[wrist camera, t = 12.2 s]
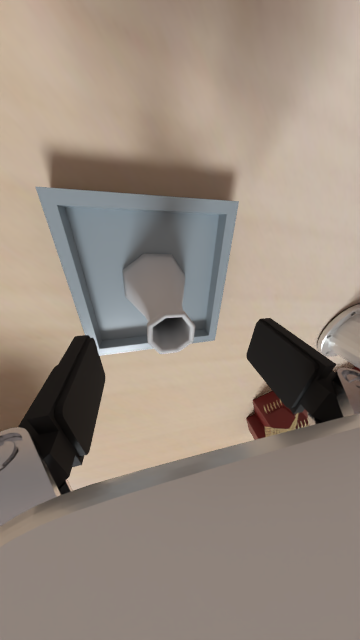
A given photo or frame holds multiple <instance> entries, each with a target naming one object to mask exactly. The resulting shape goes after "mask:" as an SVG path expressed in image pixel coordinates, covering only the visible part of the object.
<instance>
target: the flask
mask: <svg viewBox="0 0 360 640" xmlns="http://www.w3.org/2000/svg"><path fill="white" fill-rule="evenodd" d="M122 273H123V282H124V291H125V297H126V298H127V299H128V300H129V301H130V302H131V303H132V304H133V305H134V306H135V307H136V308H137V309H138V310H139V311H140V312H141V313H142V314H143V315H144V316H145V317H146V319H147V321H148V323H147V337H148V344H149V345H151V346H152V347H153V348H154V349H155V350H156V351H157V352H158V353H159V354H165V353H174V352H179V351H180V350H182V349H183V348H185V347H186V346H188V345H189V344H191V343H192V342H193V340H194V333H195V325H194V323H193V322H192V321H191V319H190V318H189V317H188V315H187V314H186V313H185V311H183V308H182V303H183V297H184V286H185V275H184V273H183V272H182V270H181V269H180V267H179V265H178V264H177V262H176V261H175V259H174V258H173V256H172V254H146V253H144V254H143V255H141V256H140V257H139V258H137V259H136V260H135V261H134V262H132V263H131V264H130V265H128V266H127V267H126V268H124V269H123V270H122Z"/></svg>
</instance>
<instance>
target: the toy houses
mask: <svg viewBox="0 0 360 640" xmlns="http://www.w3.org/2000/svg"><path fill="white" fill-rule="evenodd" d="M352 369H354V370H357V371H359V372H360V369H359V368H357V367H354V368H352ZM253 405H254V411H255V414H254V415H252V416H250V417H247V418H246V419H247V423H248V427H249V430H250V432H251V434H252V436H253V438H254V439H255V440H257V439H261V438H264V437H268V436H272V435H276V434H280V433H284V432H287V431H291V430H295V429H299V428H303V427H307V426H309V420H308V412H307V411H306V410H305V409H304V411H303V412H301V413H297V414H293V413H292V411H291V410H290V409H289V408H287V407H286V406H285V405H284V404H283V403H282V401H281V400H280V399H279V398H278V396H277V395H276V394H275V393H274V392H273V391H271V392H269V393H267V394H265V395H263V396H260V397H258V398H256V399H254V400H253Z"/></svg>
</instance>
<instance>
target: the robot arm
mask: <svg viewBox="0 0 360 640" xmlns="http://www.w3.org/2000/svg"><path fill="white" fill-rule="evenodd" d="M317 348H318V351H319V352H320V353H319V352H318V351H316V350H315V349H314V348H312V347H311V346H309V345H308V344H306V343H305V342H304V341H302V340H301V339H299V338H298V337H297V336H295V335H294V334H292V333H291V332H289V331H288V330H287V329H285V328H284V327H282V326H281V325H279V324H278V323H277V322H275V321H274V320H272V319H271V318H265V319H260V320H259V321H258V322H257V323H256V326H255V329H254V332H253V335H252V339H251V342H250V345H249V348H248V351H247V359H248V361H249V362H250V363H251V364H252V366H253V367H254V368H255V369H256V371H257V372H258V373H259V374H260V375H261V377H262V378H263V379H264V380H265V382H266V383H267V384H268V385H269V387H270V388H271V389H272V390H273V392H274V393H275V394H276V395H277V396H278V398H279V399H280V400H281V401H282V403H283V404H284V405H285V406H286V407H287V408H289V409H290V410H291V411H292V413H293V414H297V413H301V412H303V411H304V409H305V410H306V411H307V412H308V420H309V426H307V427H303V428H299V429H295V430H291V431H287V432H284V433H280V434H276V435H272V436H268V437H264V438H261V439H257V440H253V441H249V442H245V443H241V444H238V445H234V446H230V447H226V448H222V449H219V450H215V451H211V452H207V453H204V454H200V455H196V456H192V457H189V458H185V459H181V460H177V461H174V462H170V463H166V464H162V465H159V466H155V467H151V468H147V469H144V470H140V471H137V472H133V473H130V474H126V475H123V476H119V477H116V478H112V479H109V480H106V481H102V482H99V483H95V484H92V485H89V486H86V487H83V488H80V489H77V490H74V491H73V490H72V488H71V486H70V484H69V482H68V480H67V478H68V477H69V476H70V472H71V469H72V467H75V466H79V465H82V462H83V458H84V455H87V454H88V453H89V450H90V446H91V442H92V437H93V433H94V428H95V424H96V419H97V415H98V410H99V406H100V401H101V397H102V392H103V388H104V383H105V373H104V370H103V366H102V363H101V360H100V356H99V353H98V350H97V346H96V343H95V340H94V338H90V336H89V335H84V336H76V337H74V339H73V341H72V342H71V344H70V346H69V347H68V349H67V351H66V353H65V354H64V356H63V358H62V359H61V361H60V363H59V364H58V365H57V366H56V367H55V368H54V369H53V370H52V372H51V374H50V375H49V377H48V379H47V380H46V382H45V383H44V385H43V387H42V388H41V390H40V392H39V393H38V395H37V397H36V398H35V400H34V402H33V403H32V405H31V407H30V408H29V410H28V412H27V413H26V415H25V417H24V418H23V420H22V421H21V423H20V425H19V426H18V427H16V428H10V429H7V430H4V431H1V432H0V640H360V372H359V371H357V370H354V369H350V368H339V369H338V370H337V371H336V373H335V372H334V371H332V370H333V368H334V367H335V366H336V364H335V363H333V362H332V361H331V360H329V359H328V358H326V357H325V356H336V355H339V356H340V357H342V358H343V359H345V360H346V361H348V362H350V363H351V364H353V365H354V366H356V367H357V368H359V369H360V304H358V305H355V306H353V307H350V308H348V309H347V310H345V311H343V312H342V313H341V314H339V315H338V316H337V317H336V318H334V319H333V320H332V321H331V322H330V323H329V324H328V325H327V327H326V328H325V329H324V331H323V332H322V334H321V335H320V338H319V340H318V344H317ZM321 353H322V354H323V355H322V354H321ZM324 355H325V356H324Z"/></svg>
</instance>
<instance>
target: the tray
mask: <svg viewBox="0 0 360 640" xmlns="http://www.w3.org/2000/svg"><path fill="white" fill-rule="evenodd" d="M36 190H37V193H38V196H39V199H40V202H41V205H42V208H43V211H44V214H45V217H46V220H47V223H48V226H49V229H50V232H51V235H52V237H53V240H54V243H55V246H56V249H57V252H58V255H59V258H60V261H61V264H62V267H63V270H64V273H65V276H66V279H67V282H68V285H69V288H70V291H71V294H72V297H73V300H74V303H75V306H76V309H77V312H78V315H79V318H80V321H81V324H82V327H83V330H84V333H85V335H89V336H90V338H94V340H95V343H96V346H97V350H98V353H99V356H101V355H108V354H116V353H123V352H131V351H138V350H146V349H153V347H152V346H151V345H149V344H148V337H147V323H148V321H147V319H146V317H145V316H144V315H143V314H142V313H141V312H140V311H139V310H138V309H137V308H136V307H135V306H134V305H133V304H132V303H131V302H130V301H129V300H128V299H127V298H126V297H125V291H124V282H123V273H122V270H123V269H124V268H126V267H127V266H128V265H130V264H131V263H132V262H134V261H135V260H136V259H137V258H139V257H140V256H141V255H143V254H144V253H146V254H172V256H173V258H174V259H175V261H176V262H177V264H178V265H179V267H180V269H181V270H182V272H183V273H184V275H185V286H184V297H183V303H182V308H183V311H185V313H186V314H187V315H188V317H189V318H190V319H191V321H192V322H193V323H194V325H195V333H194V340H193V342H192V343H198V342H206V341H213V340H215V336H216V330H217V324H218V318H219V313H220V307H221V301H222V295H223V290H224V284H225V278H226V272H227V266H228V261H229V255H230V249H231V243H232V238H233V232H234V226H235V220H236V215H237V209H238V203H239V202H238V201H225V200H211V199H197V198H184V197H170V196H156V195H143V194H129V193H115V192H101V191H88V190H74V189H60V188H47V187H36Z"/></svg>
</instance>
